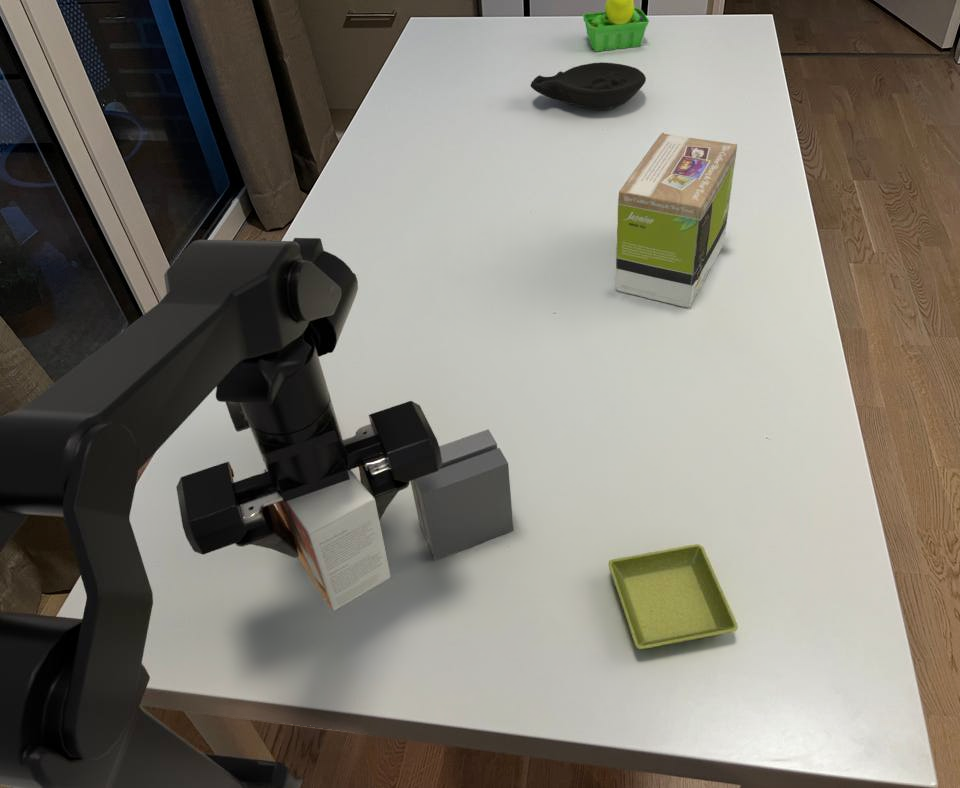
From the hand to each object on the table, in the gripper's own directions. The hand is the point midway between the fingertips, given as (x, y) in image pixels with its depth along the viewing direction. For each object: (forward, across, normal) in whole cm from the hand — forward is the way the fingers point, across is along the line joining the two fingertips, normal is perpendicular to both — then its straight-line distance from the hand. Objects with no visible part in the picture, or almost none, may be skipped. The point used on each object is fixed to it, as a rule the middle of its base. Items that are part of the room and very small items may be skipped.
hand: (334, 538), depth 65 cm
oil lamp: (+10, -64, -78) cm, 102 cm away
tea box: (+10, -51, -30) cm, 60 cm away
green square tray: (+10, -25, +12) cm, 29 cm away
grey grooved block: (+10, -12, -4) cm, 16 cm away
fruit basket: (+9, -80, -97) cm, 126 cm away
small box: (+4, 0, 0) cm, 4 cm away
